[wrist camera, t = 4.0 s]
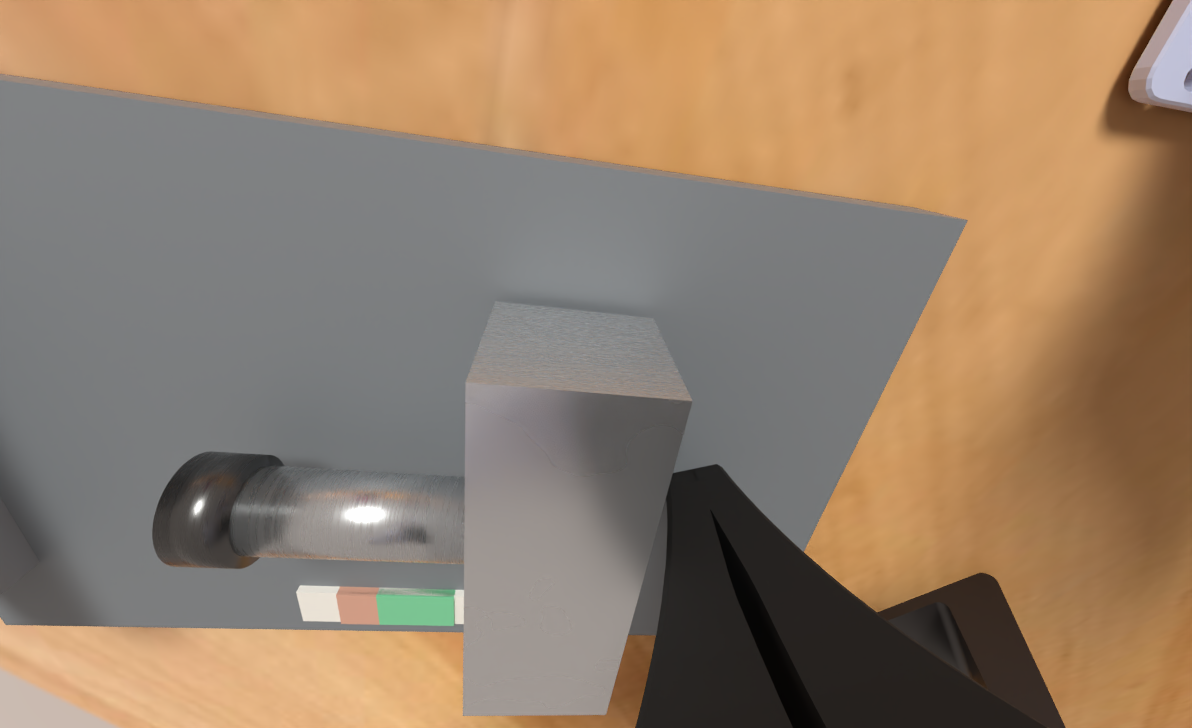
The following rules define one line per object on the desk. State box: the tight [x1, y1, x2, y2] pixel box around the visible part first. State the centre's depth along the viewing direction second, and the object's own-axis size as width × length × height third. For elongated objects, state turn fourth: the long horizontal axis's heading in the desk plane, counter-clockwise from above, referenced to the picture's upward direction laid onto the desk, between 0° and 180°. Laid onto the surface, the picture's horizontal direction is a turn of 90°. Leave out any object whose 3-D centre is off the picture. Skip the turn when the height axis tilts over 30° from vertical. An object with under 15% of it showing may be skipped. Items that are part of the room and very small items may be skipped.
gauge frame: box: [0, 74, 968, 635], centre depth 10 cm, size 21×13×4 cm, turn 82°
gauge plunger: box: [152, 301, 693, 716], centre depth 9 cm, size 8×10×3 cm
